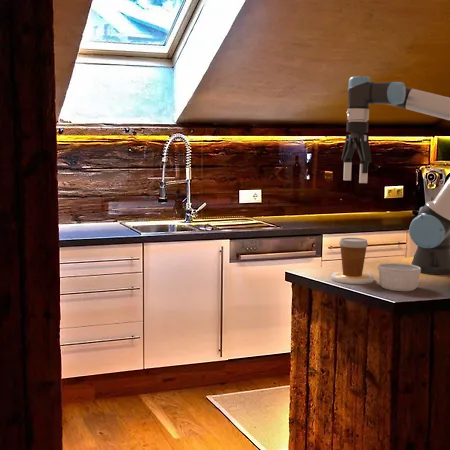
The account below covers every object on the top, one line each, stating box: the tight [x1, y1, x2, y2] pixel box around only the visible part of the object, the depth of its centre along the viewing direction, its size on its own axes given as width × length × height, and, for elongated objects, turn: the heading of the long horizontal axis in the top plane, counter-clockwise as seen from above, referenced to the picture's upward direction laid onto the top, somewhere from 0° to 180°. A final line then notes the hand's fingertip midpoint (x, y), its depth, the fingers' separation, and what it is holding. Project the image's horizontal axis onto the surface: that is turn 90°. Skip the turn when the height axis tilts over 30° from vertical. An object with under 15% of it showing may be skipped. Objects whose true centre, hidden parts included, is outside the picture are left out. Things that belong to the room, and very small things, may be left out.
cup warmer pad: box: [330, 271, 375, 285], centre depth 234 cm, size 14×14×2 cm
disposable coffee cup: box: [338, 237, 369, 277], centre depth 233 cm, size 10×10×12 cm
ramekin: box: [377, 262, 421, 292], centre depth 223 cm, size 13×13×7 cm
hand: (354, 181), depth 248 cm, fingers open, 13 cm apart
